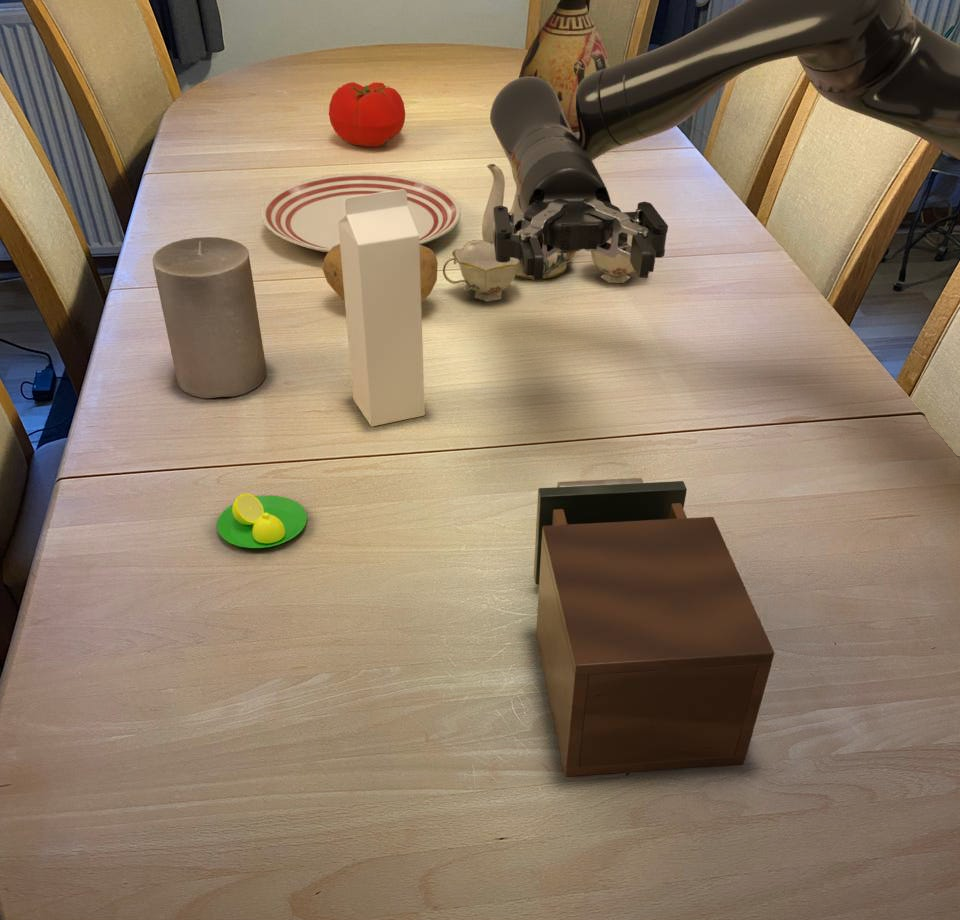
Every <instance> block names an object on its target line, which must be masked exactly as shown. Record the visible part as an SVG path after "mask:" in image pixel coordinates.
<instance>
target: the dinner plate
mask: <svg viewBox="0 0 960 920" xmlns="http://www.w3.org/2000/svg"><path fill="white" fill-rule="evenodd" d="M401 189H404V190H405V191H406V192H407V206H408V209H409V211H410V214H411V216H412V219H413V221H414V224H415V226H416V229H417V231H418V234H419V244H420V245H425V244H427V243H430V242H432V241H434V240H437V239H439V238H441V237H443V236H444V235H446V234H447V233H449V232H450V231H451V230H453V229H454V227H456V225H458V222H459V221H460V218H461V212H462V211H461V206H460V204H459V202H458V201H457V199H456V198H455V197H454V196H453V195H452V194H450V193H449V192H448V191H446V190H445V189H443V188H441V187H439V186H437V185H435V184H432V183H429V182H427V181H423V180H420V179H416V178H412V177H406V176H401V175H396V174H387V173H373V172H359V173H358V172H357V173H356V172H355V173H354V172H353V173H352V172H351V173H341V174H340V173H339V174H334V175H333V174H332V175H326V176H320V177H316V178H312V179H311V178H310V179H307V180H304V181H300V182H297V183H294V184H291V185H289V186H287V187H285V188H283V189H281V190H279V191H278V192H276V193H274V194H272V196H270V197H269V198H268V199H267V200H266V201H265V202H264V204H263V205H262V208H261V211H260V212H261V213H260V214H261V216H260V217H261V220H262V222H263V224H264V226H265V227H266V228H267V229H268V230H269V231H271V233H272V234H274V235H276V236H277V237H279V238H280V239H283V240H284V241H287V242H289V243H292V244H295V245H297V246H300V247H303V248H307V249H309V250H314V251H318V252H323V253H328V252H329V251H330V250H331V249H332V248H333V247H334V246H336V245H338V244H340V239H339V227H338V222H339V221H340V220H341V219H342V218H343V217H344V216H345V215H346V209H345V200H346V198H347V197H353V196H359V195H366V194H373V193H380V192H387V191H394V190H401Z"/></svg>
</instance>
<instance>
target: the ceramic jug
mask: <svg viewBox="0 0 960 920" xmlns="http://www.w3.org/2000/svg"><path fill="white" fill-rule="evenodd" d="M590 4H591V0H559V1H558V3H557V4H556V8H555V10H554V11H552V13H551V14H550V15H549V17H548V18H547V19H546V21H545V23H544V24H543V26H542V27H541V28H540V29H539V31H538V33H537V34H536V36H535V38H534V39H533V41H532V43H531V45H530V46H529V48H528V50H527V52H526V55H525V56H524V60H522V61H523V62H522V64H521V68H520V72H519V75H518V78H521V77H527V76H533V77H539V78H542V79H544V80H546V81H547V82H548V83H550V84H551V86H552V87H553V89H554V90H555V93H556V95H557V97H558V99H559V102H560V104H561V106H562V109H563V111H564V113H565V116H566V118H567V120H568V122H569V125H570V127H571V129H572V131H573V133H576V132H579V126H578V120H577V114H576V101H575V99H576V91H577V88H578V86H579V84H580V82H581V81H582V80H583V79H584V78H585V77H586V76H588V75H590V74H592V73H594V72H596V71H599V70H602V69H604V68H607V67H610V66H611V65H610V60H609V57H608V53H607V52H606V48H605V46H604V43H603V41H602V39H601V36H600V34H599V31H598V29H597V27H596V24H595V22H594V20H593V19H592V17H591V14H590Z"/></svg>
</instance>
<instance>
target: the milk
mask: <svg viewBox="0 0 960 920" xmlns="http://www.w3.org/2000/svg"><path fill="white" fill-rule="evenodd" d="M345 209H346V215H345V216H344V217H343V218H342V219H341V220H340V221H339V222H338V227H339V239H340V250H341V262H342V274H343V285H344V297H345V301H344V307H345V319H346V331H347V332H346V333H347V341H348V342H347V343H348V354H349V365H350V367H349V368H350V378H351V389H352V400H353V402H354V403H355V404H356V406H357V407H358V409H359V410H360V412H361V414H362V416H364V418H365V419H366V421H367V423H368V424H369V425H370V427H377V426H381V425H386V424H390V423H391V424H392V423H396V422H400V421H405V420H409V419H414V418H419V417H424V416H425V415H426V410H425V409H426V408H425V407H426V405H425V403H426V402H425V378H424V377H425V375H424V348H423V346H424V345H423V344H424V343H423V317H422V316H423V315H422V314H423V313H422V303H421V282H420V252H419V234H418V231H417V229H416V226H415V224H414V221H413V219H412V216H411V214H410V211H409V209H408V206H407V192H406V191H405V190H404V189H401V190H394V191H387V192H380V193H373V194H366V195H359V196H353V197H347V198H346V200H345Z"/></svg>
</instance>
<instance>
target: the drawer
mask: <svg viewBox="0 0 960 920" xmlns="http://www.w3.org/2000/svg"><path fill="white" fill-rule="evenodd" d="M687 491H688V488H687V486H686V484H685V482H684V480H677V481H675V480H674V481H657V482H656V481H655V482H653V481H652V482H644V481H643V478H642V477H629V478H610V479H609V478H608V479H607V478H606V479H589V480H586V479H585V480H569V481H568V480H567V481H566V480H565V481H557V484H556V486H555V487H539V488H538V489H537V506H536V524H535V542H534V543H535V544H534V547H535V548H534V560H533V561H534V562H533V563H534V564H533V579H534V585H536V586H539V578H540V561H541V544H542V528H543V526H550V525H569V524H588V523H607V522H625V521H644V520H663V519H681V518H688V517H687V515H686V512H685V509H684V508H685V503H686V497H687Z"/></svg>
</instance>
